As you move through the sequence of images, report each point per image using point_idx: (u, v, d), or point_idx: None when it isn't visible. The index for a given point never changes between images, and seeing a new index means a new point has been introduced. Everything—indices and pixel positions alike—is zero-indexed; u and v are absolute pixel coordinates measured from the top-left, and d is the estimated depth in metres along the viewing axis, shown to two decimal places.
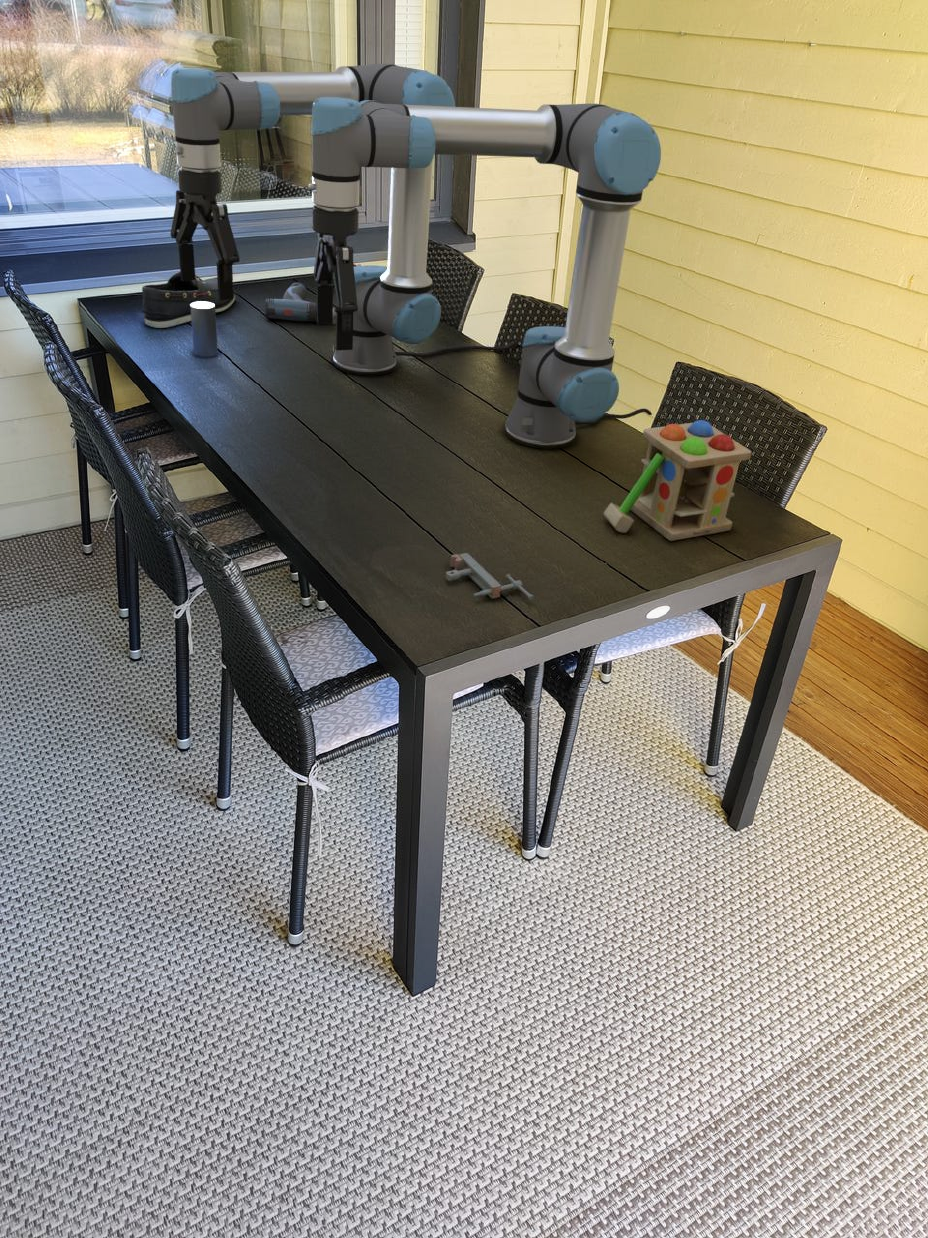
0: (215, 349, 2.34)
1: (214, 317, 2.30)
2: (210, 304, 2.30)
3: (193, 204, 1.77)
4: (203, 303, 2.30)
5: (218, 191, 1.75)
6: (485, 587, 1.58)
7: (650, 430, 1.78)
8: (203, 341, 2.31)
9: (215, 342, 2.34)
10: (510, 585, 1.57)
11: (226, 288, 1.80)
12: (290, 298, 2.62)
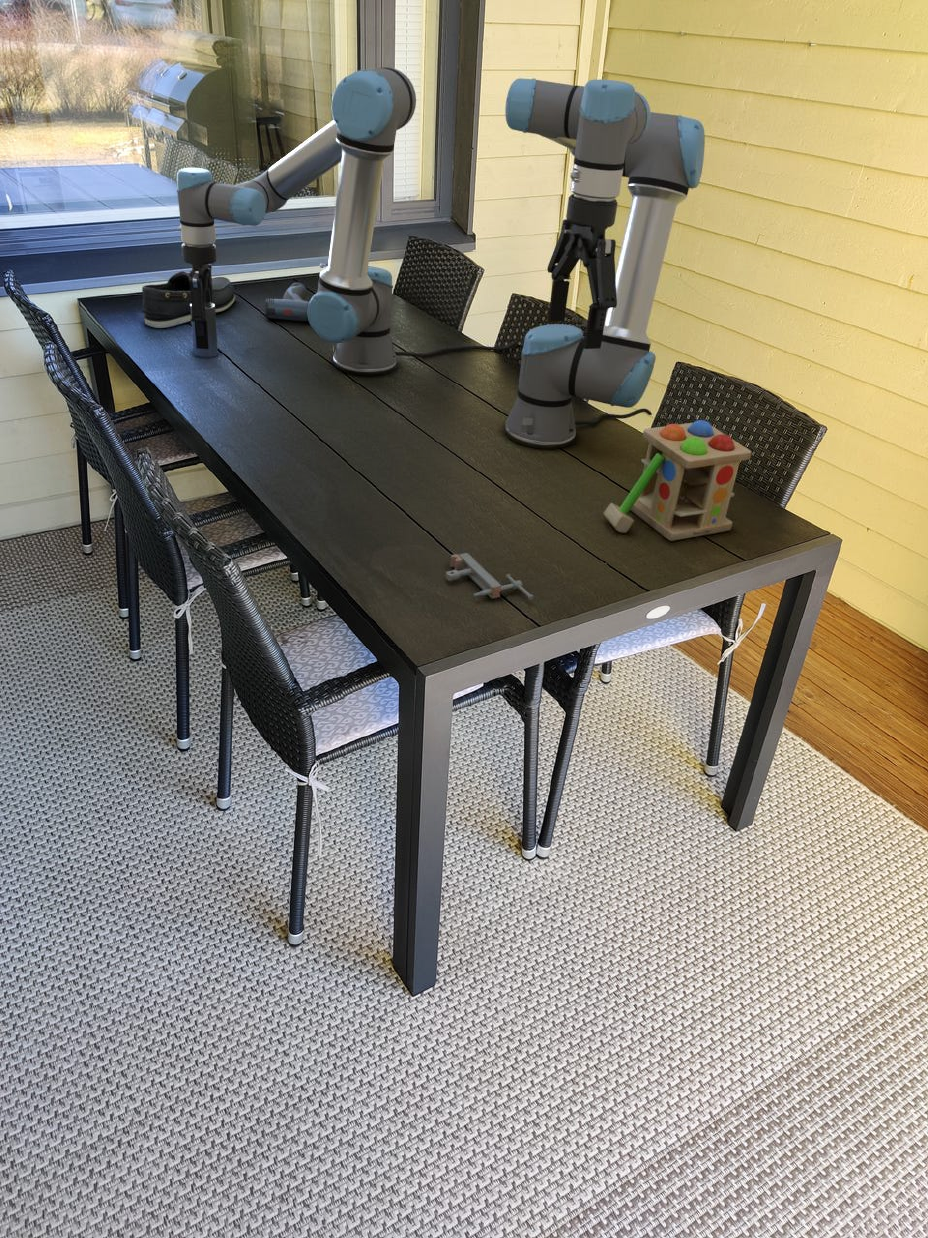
0: (215, 349, 2.34)
1: (214, 317, 2.30)
2: (210, 304, 2.30)
3: None
4: None
5: (204, 262, 2.21)
6: (485, 587, 1.58)
7: (650, 430, 1.78)
8: None
9: (215, 342, 2.34)
10: (510, 585, 1.57)
11: (201, 340, 2.30)
12: (290, 298, 2.62)
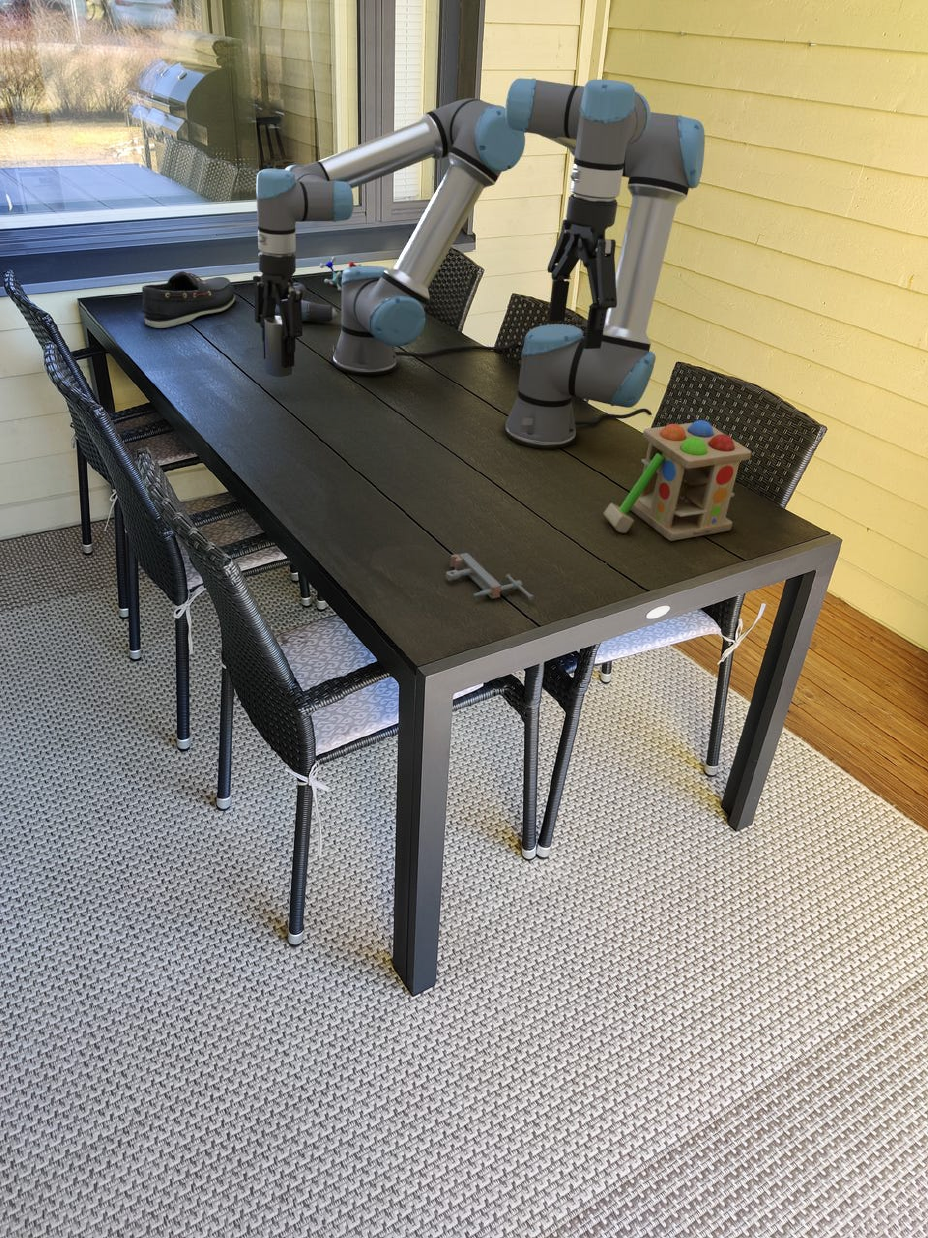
0: None
1: None
2: None
3: (270, 282, 2.04)
4: (275, 318, 2.09)
5: (293, 271, 2.02)
6: (485, 587, 1.58)
7: (650, 430, 1.78)
8: None
9: None
10: (510, 585, 1.57)
11: (289, 357, 2.11)
12: None
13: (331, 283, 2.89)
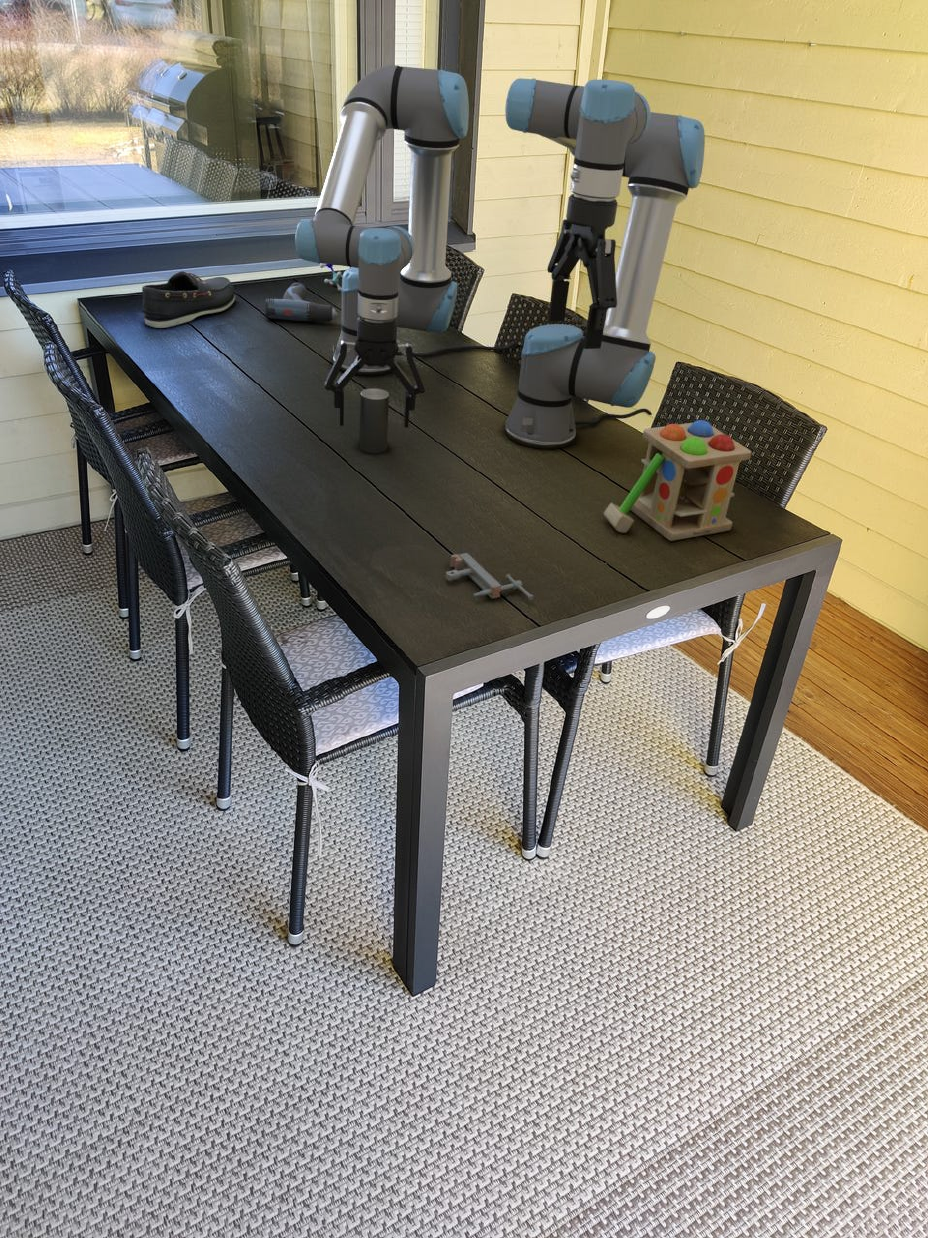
0: None
1: None
2: (371, 390, 1.94)
3: (373, 351, 1.87)
4: (370, 393, 1.93)
5: None
6: (485, 587, 1.58)
7: (650, 430, 1.78)
8: None
9: None
10: (510, 585, 1.57)
11: None
12: (290, 298, 2.62)
13: (331, 283, 2.89)
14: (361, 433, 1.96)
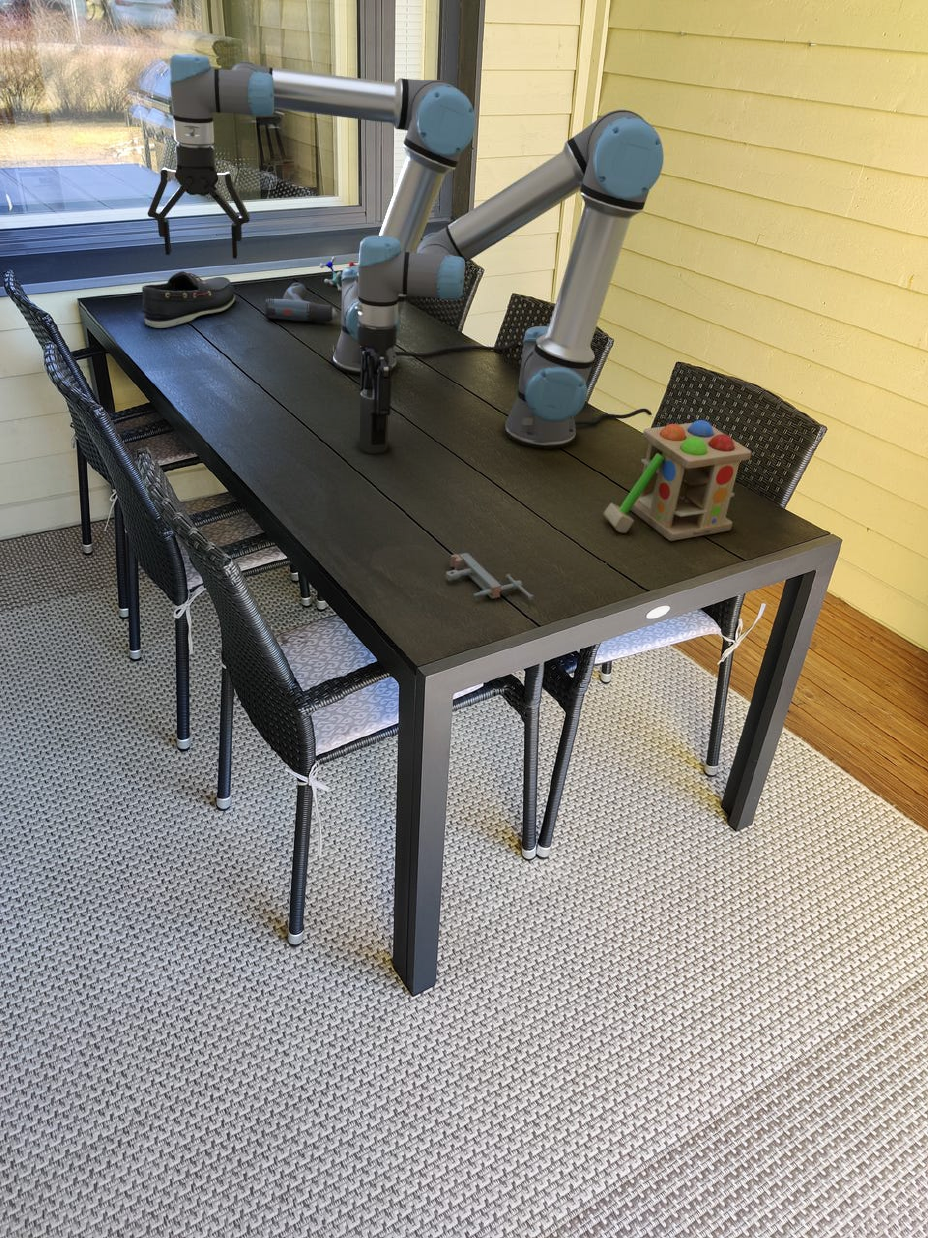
0: None
1: None
2: (371, 389, 1.94)
3: (193, 178, 1.96)
4: (370, 393, 1.93)
5: None
6: (485, 587, 1.58)
7: (650, 430, 1.78)
8: (387, 429, 1.98)
9: None
10: (510, 585, 1.57)
11: (236, 246, 2.06)
12: (290, 298, 2.62)
13: (331, 283, 2.89)
14: (361, 433, 1.96)
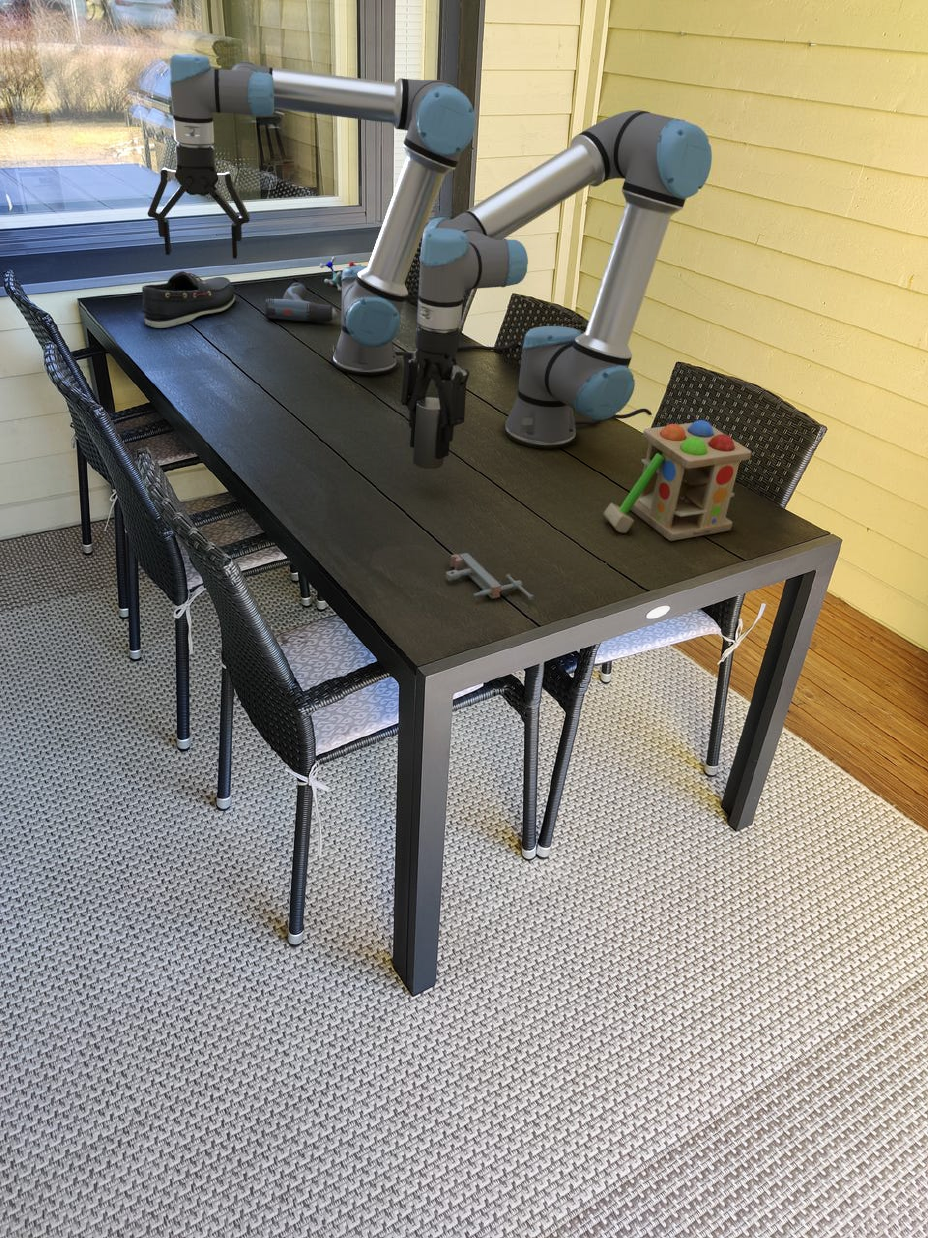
0: None
1: None
2: (424, 400, 1.76)
3: (193, 178, 1.96)
4: (428, 403, 1.75)
5: None
6: (485, 587, 1.58)
7: (650, 430, 1.78)
8: None
9: None
10: (510, 585, 1.57)
11: (236, 246, 2.06)
12: (290, 298, 2.62)
13: (331, 283, 2.89)
14: (422, 449, 1.78)
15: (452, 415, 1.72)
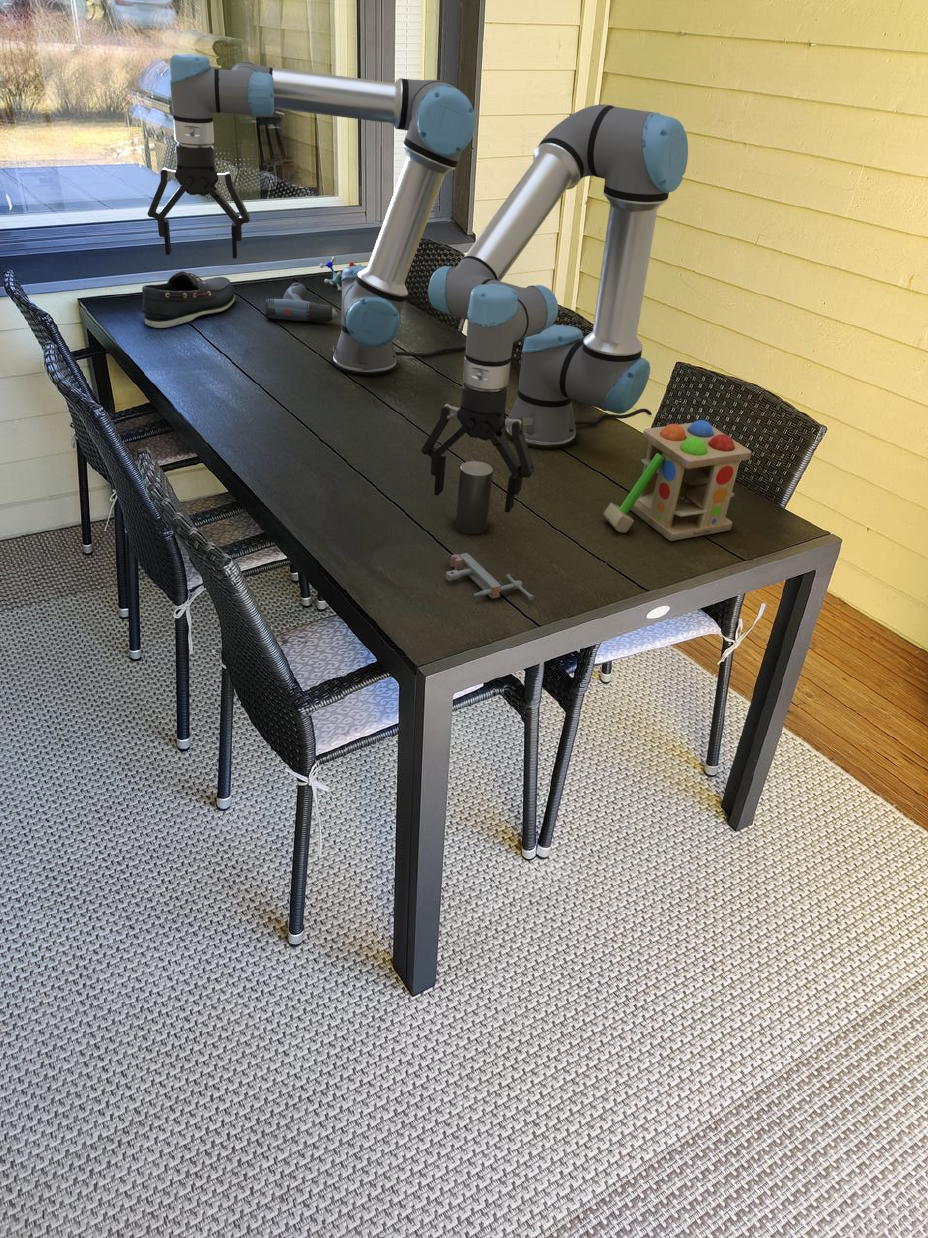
0: None
1: None
2: (466, 466, 1.69)
3: (193, 178, 1.96)
4: (474, 469, 1.68)
5: None
6: (485, 587, 1.58)
7: (650, 430, 1.78)
8: None
9: None
10: (510, 585, 1.57)
11: (236, 246, 2.06)
12: (290, 298, 2.62)
13: (331, 283, 2.89)
14: (471, 516, 1.71)
15: (524, 467, 1.65)
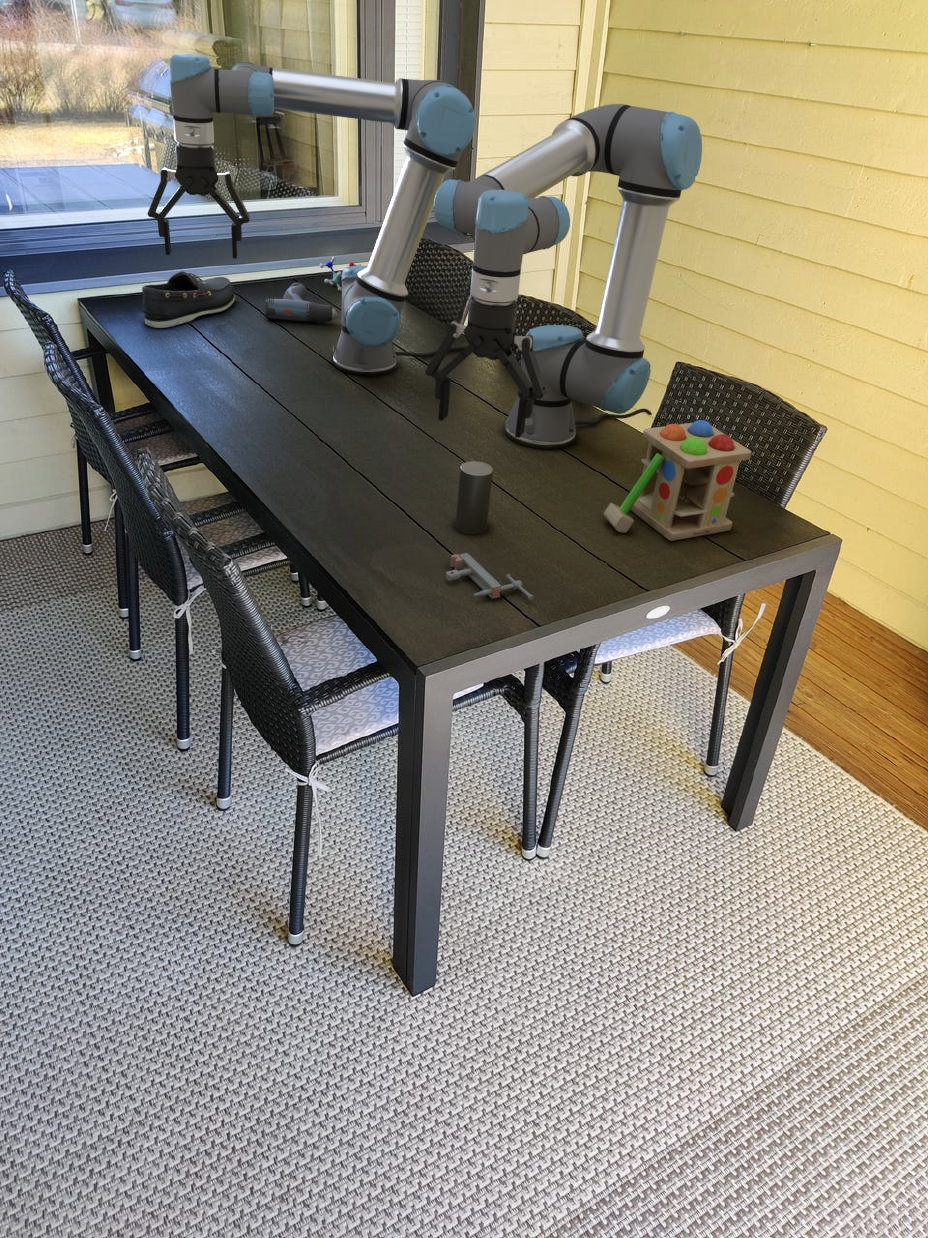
0: None
1: None
2: (466, 466, 1.69)
3: (193, 178, 1.96)
4: (474, 469, 1.68)
5: None
6: (485, 587, 1.58)
7: (650, 430, 1.78)
8: None
9: None
10: (510, 585, 1.57)
11: (236, 246, 2.06)
12: (290, 298, 2.62)
13: (331, 283, 2.89)
14: (471, 516, 1.71)
15: (535, 387, 1.57)
